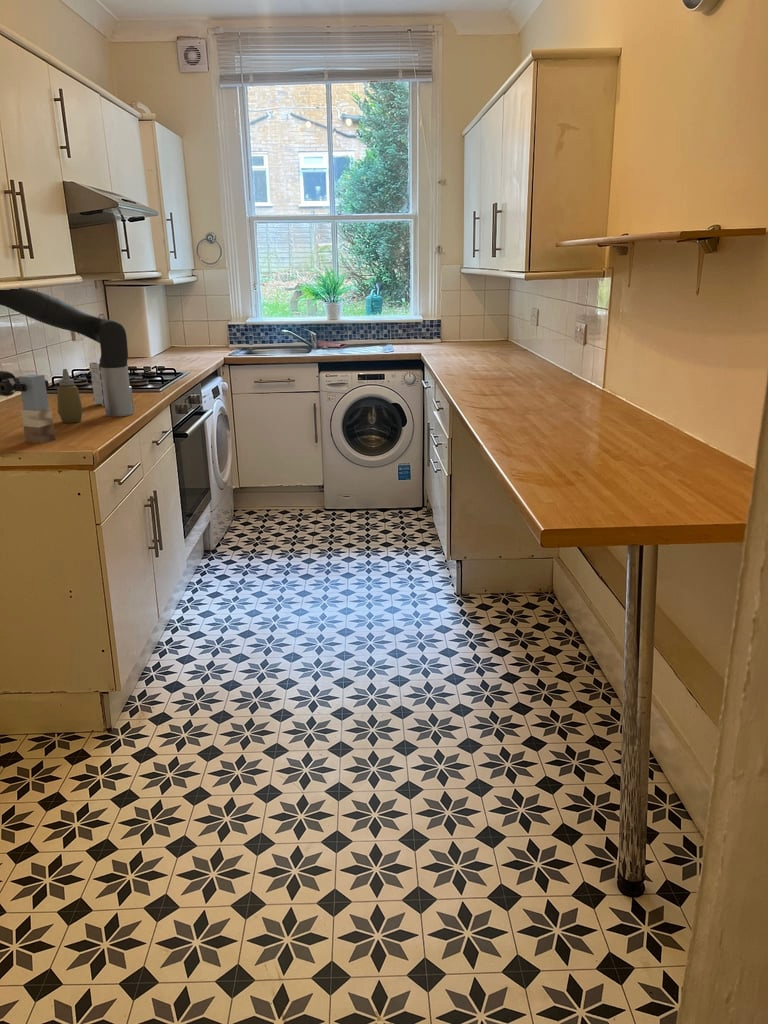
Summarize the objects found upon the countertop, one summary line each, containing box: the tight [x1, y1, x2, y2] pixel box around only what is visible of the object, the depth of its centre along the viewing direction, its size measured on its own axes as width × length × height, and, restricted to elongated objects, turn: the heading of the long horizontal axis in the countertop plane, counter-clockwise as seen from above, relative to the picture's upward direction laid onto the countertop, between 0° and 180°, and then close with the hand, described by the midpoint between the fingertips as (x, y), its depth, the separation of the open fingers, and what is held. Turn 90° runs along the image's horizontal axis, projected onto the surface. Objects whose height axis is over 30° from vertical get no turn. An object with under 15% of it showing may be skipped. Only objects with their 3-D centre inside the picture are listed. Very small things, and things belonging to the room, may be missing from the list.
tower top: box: [20, 407, 54, 428], centre depth 236 cm, size 6×6×5 cm
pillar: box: [18, 373, 50, 411], centre depth 234 cm, size 5×5×10 cm
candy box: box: [89, 360, 131, 407], centre depth 300 cm, size 14×6×16 cm, turn 149°
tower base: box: [23, 423, 56, 444], centre depth 237 cm, size 6×6×5 cm
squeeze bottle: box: [56, 368, 84, 424], centre depth 264 cm, size 8×8×18 cm
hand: (37, 385), depth 232 cm, fingers open, 8 cm apart
